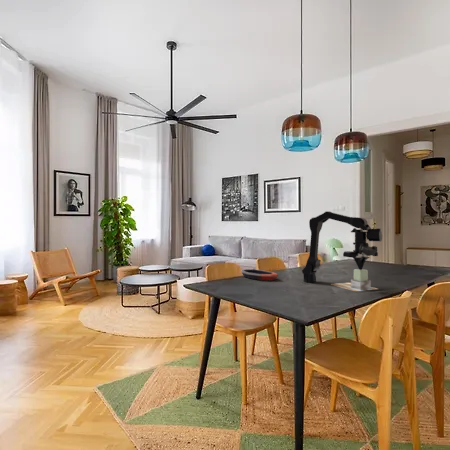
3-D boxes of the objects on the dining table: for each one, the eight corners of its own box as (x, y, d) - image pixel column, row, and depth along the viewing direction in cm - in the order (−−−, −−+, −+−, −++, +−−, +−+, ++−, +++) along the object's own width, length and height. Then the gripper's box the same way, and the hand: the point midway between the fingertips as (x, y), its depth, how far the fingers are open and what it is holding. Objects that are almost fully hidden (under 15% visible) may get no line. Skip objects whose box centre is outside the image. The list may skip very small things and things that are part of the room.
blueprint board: (355, 293, 164) (355, 282, 164) (329, 285, 183) (329, 276, 183) (379, 290, 169) (379, 280, 169) (352, 283, 189) (352, 274, 189)
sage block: (360, 281, 168) (360, 270, 168) (353, 280, 173) (353, 269, 173) (367, 281, 170) (367, 270, 170) (360, 279, 175) (360, 268, 175)
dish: (252, 274, 227) (252, 267, 227) (284, 280, 203) (284, 272, 203) (235, 276, 217) (235, 269, 217) (267, 283, 193) (267, 275, 193)
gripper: (357, 242, 160) (357, 273, 161) (385, 241, 167) (386, 270, 167) (342, 241, 171) (342, 269, 171) (369, 240, 177) (369, 268, 177)
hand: (360, 269), depth 171 cm, fingers closed, pressing on sage block
